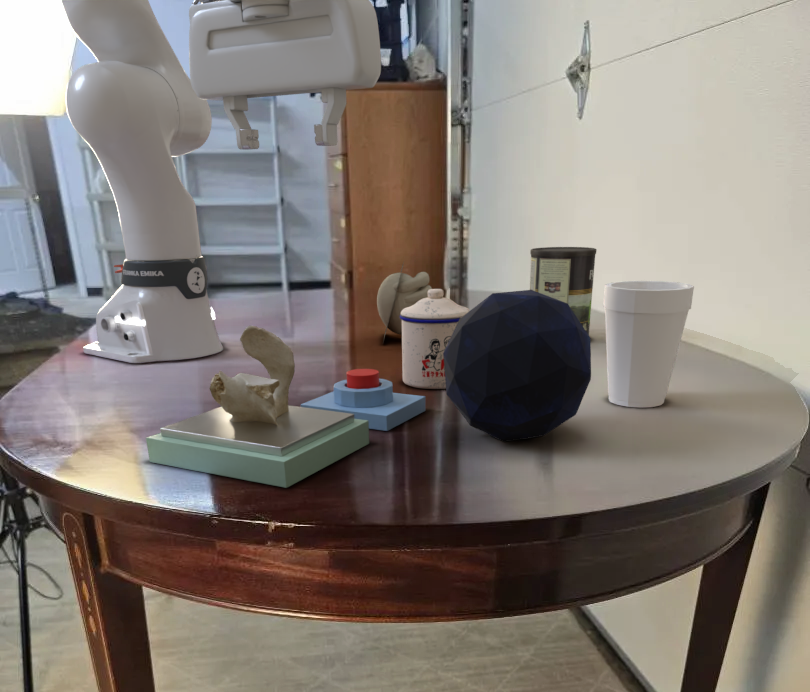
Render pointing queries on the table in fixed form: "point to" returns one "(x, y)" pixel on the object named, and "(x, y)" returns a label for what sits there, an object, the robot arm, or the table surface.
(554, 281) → the coffee can
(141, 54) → the robot arm
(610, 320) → the foam cup
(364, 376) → the button
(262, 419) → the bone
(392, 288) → the decorative object
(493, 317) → the decorative orb
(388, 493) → the table surface
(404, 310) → the teacup with lid
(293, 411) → the scale
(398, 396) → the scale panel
